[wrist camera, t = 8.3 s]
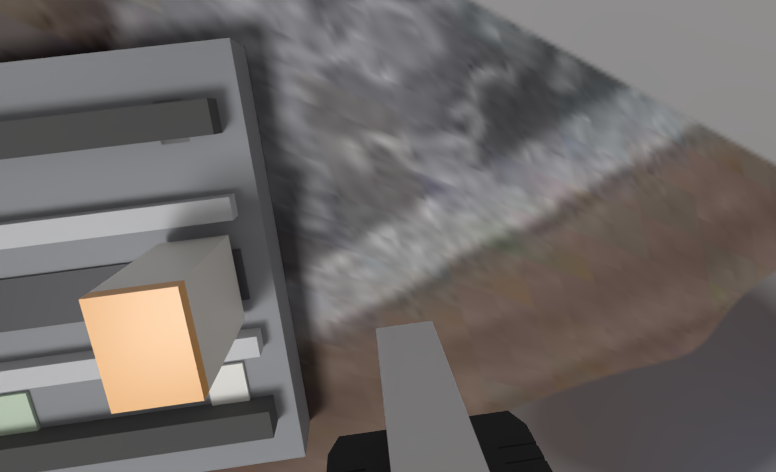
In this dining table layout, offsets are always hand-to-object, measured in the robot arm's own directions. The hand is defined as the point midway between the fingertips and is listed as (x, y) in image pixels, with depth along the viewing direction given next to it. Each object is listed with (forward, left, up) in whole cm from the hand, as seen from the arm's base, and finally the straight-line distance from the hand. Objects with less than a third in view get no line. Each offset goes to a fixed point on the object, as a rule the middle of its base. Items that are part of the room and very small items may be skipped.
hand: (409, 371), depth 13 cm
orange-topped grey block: (0, -8, -10) cm, 13 cm away
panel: (0, -13, -13) cm, 19 cm away
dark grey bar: (-7, -13, -13) cm, 20 cm away
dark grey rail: (+7, -13, -13) cm, 20 cm away
